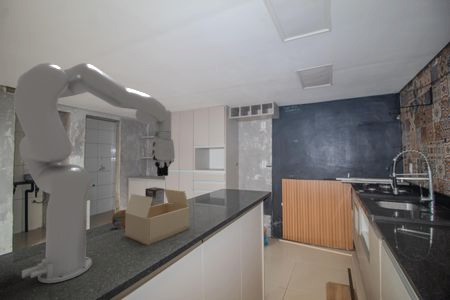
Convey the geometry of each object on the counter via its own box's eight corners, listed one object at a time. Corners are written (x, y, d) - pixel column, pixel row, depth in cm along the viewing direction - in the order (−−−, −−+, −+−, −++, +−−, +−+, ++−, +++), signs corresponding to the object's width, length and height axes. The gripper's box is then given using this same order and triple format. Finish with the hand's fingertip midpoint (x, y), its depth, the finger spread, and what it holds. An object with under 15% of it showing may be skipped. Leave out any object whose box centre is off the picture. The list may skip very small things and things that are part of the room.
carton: (148, 245, 77) (148, 219, 77) (124, 235, 86) (125, 212, 87) (189, 228, 95) (189, 207, 95) (166, 222, 104) (166, 202, 105)
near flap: (132, 194, 88) (131, 193, 88) (152, 197, 80) (151, 197, 80) (126, 212, 86) (125, 212, 85) (146, 218, 78) (145, 218, 77)
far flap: (183, 191, 94) (184, 191, 94) (163, 188, 102) (164, 188, 102) (188, 206, 96) (188, 206, 96) (168, 202, 104) (169, 202, 104)
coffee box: (144, 217, 113) (144, 188, 113) (153, 214, 118) (154, 187, 119) (155, 220, 108) (155, 189, 109) (164, 216, 113) (164, 188, 114)
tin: (112, 230, 93) (112, 212, 93) (111, 228, 95) (111, 210, 96) (145, 223, 102) (146, 206, 103) (143, 222, 105) (144, 205, 105)
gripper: (153, 134, 85) (152, 178, 84) (181, 137, 98) (181, 175, 97) (142, 135, 89) (142, 177, 89) (171, 137, 102) (171, 174, 102)
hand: (162, 175), depth 93 cm, fingers closed
